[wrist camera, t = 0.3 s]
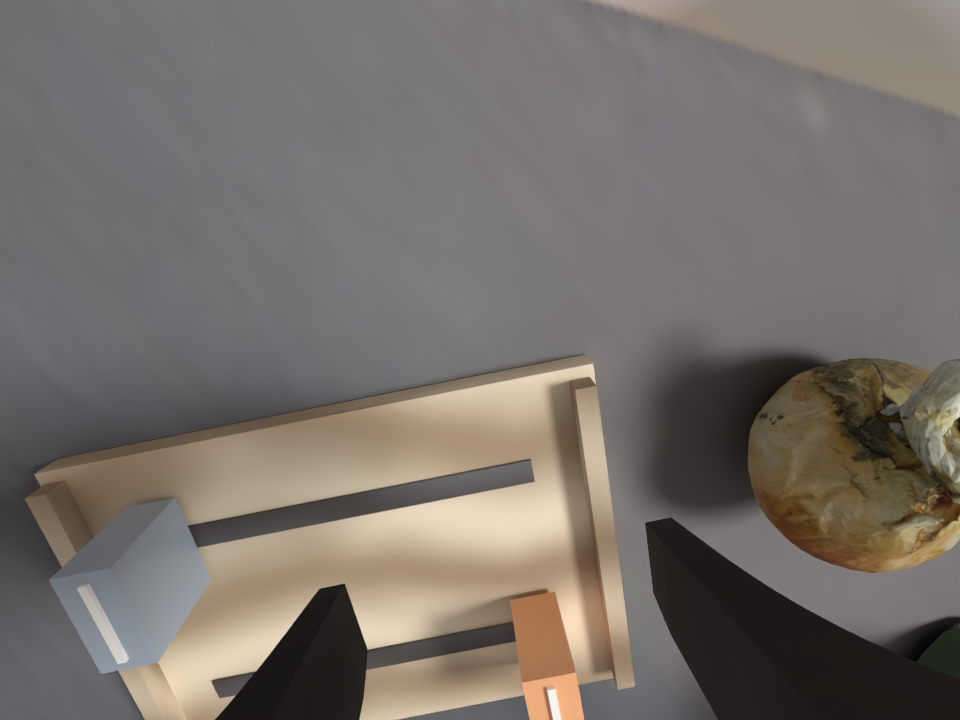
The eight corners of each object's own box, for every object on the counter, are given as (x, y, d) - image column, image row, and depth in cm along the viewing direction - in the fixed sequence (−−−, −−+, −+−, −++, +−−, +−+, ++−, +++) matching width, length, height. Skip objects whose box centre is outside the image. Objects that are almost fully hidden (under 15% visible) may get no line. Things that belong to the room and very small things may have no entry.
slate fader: (210, 579, 21) (155, 666, 17) (164, 588, 21) (98, 677, 17) (175, 497, 20) (107, 571, 16) (125, 507, 20) (44, 583, 16)
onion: (677, 432, 22) (797, 557, 14) (826, 296, 20) (1049, 354, 13) (781, 528, 24) (937, 685, 16) (925, 410, 22) (1171, 521, 15)
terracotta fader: (567, 659, 23) (590, 753, 20) (524, 668, 24) (539, 763, 20) (554, 591, 22) (576, 676, 18) (509, 600, 22) (522, 686, 18)
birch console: (624, 652, 26) (640, 693, 23) (197, 735, 26) (174, 782, 24) (585, 354, 21) (600, 372, 18) (57, 458, 21) (12, 487, 19)
